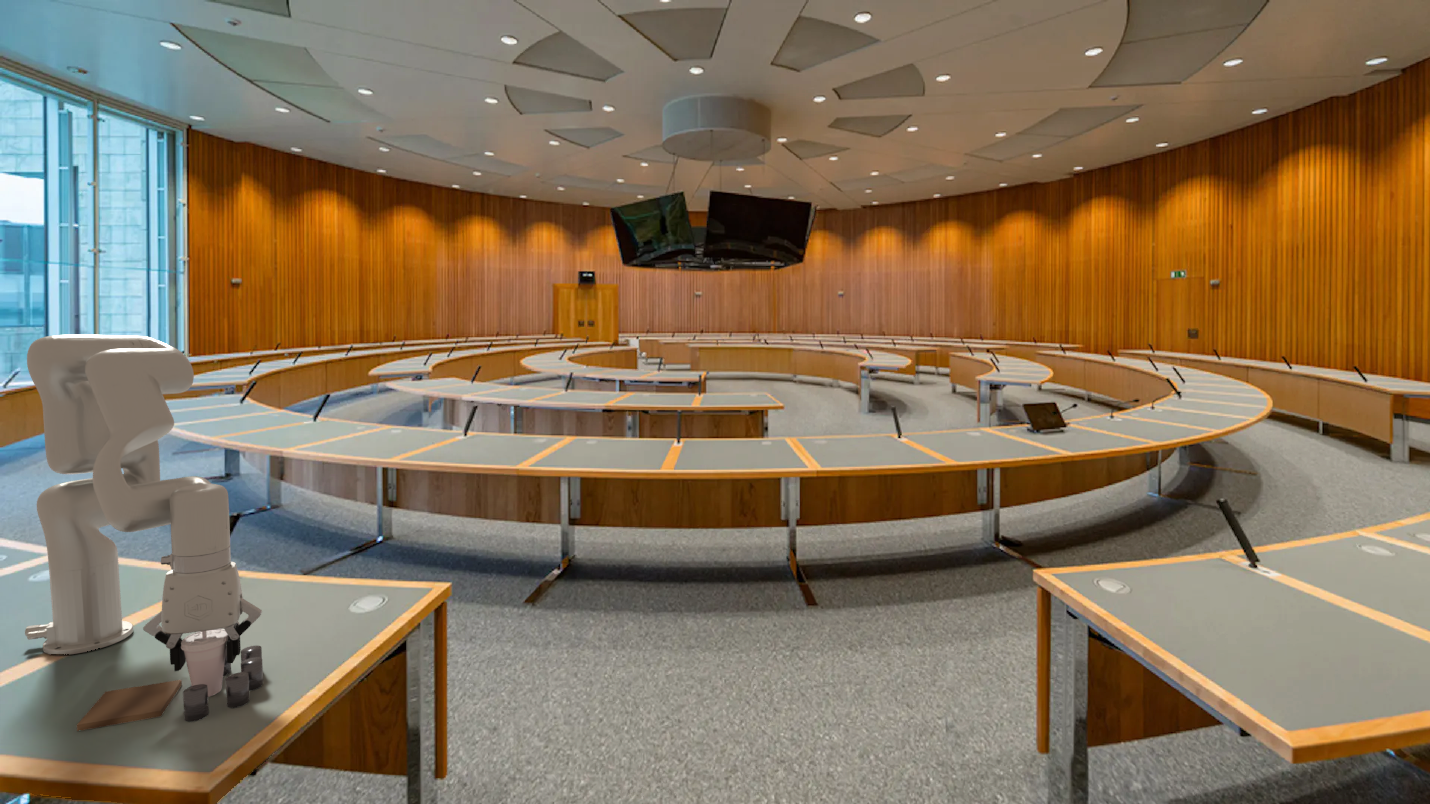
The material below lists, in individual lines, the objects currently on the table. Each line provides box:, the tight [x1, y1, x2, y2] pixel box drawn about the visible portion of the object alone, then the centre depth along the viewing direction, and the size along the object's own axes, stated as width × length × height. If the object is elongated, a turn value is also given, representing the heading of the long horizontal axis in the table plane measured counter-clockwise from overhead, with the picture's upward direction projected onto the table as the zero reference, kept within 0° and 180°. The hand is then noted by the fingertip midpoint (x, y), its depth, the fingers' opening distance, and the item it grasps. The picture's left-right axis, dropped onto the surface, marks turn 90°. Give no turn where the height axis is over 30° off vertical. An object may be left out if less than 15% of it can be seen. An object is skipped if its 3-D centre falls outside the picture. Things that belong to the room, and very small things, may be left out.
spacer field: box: [182, 645, 264, 723], centre depth 109 cm, size 9×17×4 cm, turn 25°
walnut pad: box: [76, 679, 183, 732], centre depth 103 cm, size 10×10×1 cm
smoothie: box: [181, 628, 229, 698], centre depth 107 cm, size 6×6×14 cm
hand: (206, 662), depth 107 cm, fingers closed on smoothie, 6 cm apart
